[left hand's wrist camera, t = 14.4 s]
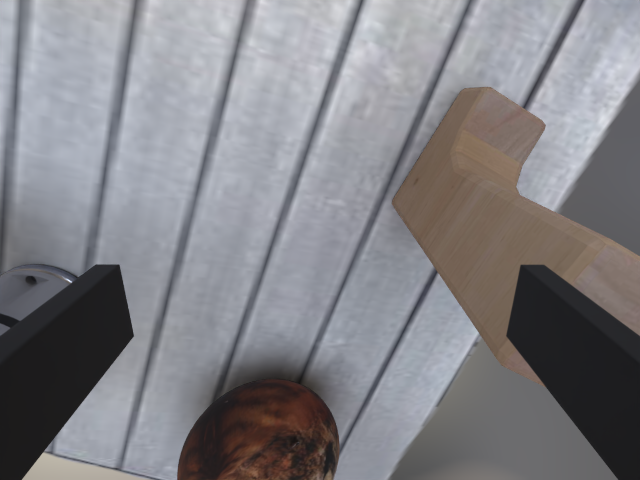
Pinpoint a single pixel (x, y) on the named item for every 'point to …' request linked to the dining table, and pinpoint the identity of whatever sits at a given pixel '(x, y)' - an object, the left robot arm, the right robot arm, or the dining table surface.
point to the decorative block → (503, 223)
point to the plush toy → (263, 436)
